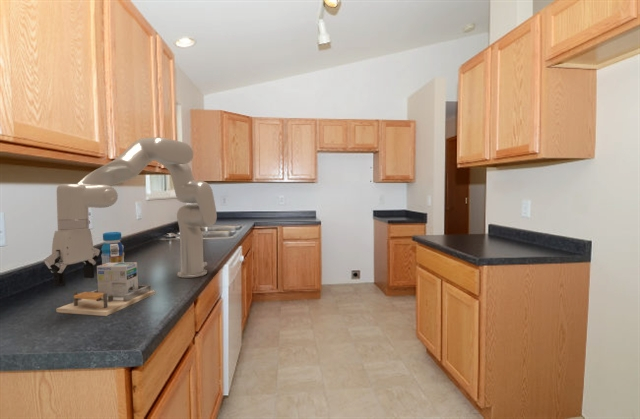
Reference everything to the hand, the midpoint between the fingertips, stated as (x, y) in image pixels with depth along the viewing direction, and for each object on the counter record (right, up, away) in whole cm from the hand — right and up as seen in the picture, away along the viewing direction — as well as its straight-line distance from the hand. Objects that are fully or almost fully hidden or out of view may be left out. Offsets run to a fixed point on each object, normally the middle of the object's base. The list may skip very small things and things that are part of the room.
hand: (75, 281), depth 100 cm
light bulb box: (+3, -8, +17) cm, 19 cm away
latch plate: (+1, -6, +5) cm, 8 cm away
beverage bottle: (-15, -8, +43) cm, 47 cm away
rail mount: (+3, -10, +14) cm, 17 cm away
